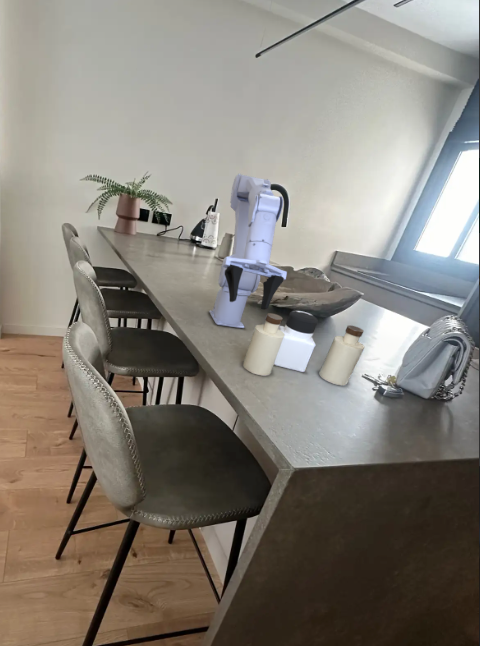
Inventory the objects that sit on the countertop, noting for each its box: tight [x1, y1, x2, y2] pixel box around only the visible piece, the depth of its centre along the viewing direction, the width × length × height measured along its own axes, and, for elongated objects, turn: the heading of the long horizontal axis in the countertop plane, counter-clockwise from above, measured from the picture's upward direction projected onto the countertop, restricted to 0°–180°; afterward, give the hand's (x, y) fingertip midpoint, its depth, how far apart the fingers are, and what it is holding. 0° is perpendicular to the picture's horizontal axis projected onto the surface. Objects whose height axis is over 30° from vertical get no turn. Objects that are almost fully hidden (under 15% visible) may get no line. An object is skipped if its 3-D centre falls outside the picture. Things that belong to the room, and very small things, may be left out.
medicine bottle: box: [273, 310, 319, 373], centre depth 83 cm, size 7×7×12 cm
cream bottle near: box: [242, 312, 284, 377], centre depth 77 cm, size 6×6×12 cm
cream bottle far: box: [318, 324, 365, 386], centre depth 80 cm, size 6×6×12 cm
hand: (248, 304), depth 82 cm, fingers open, 7 cm apart
